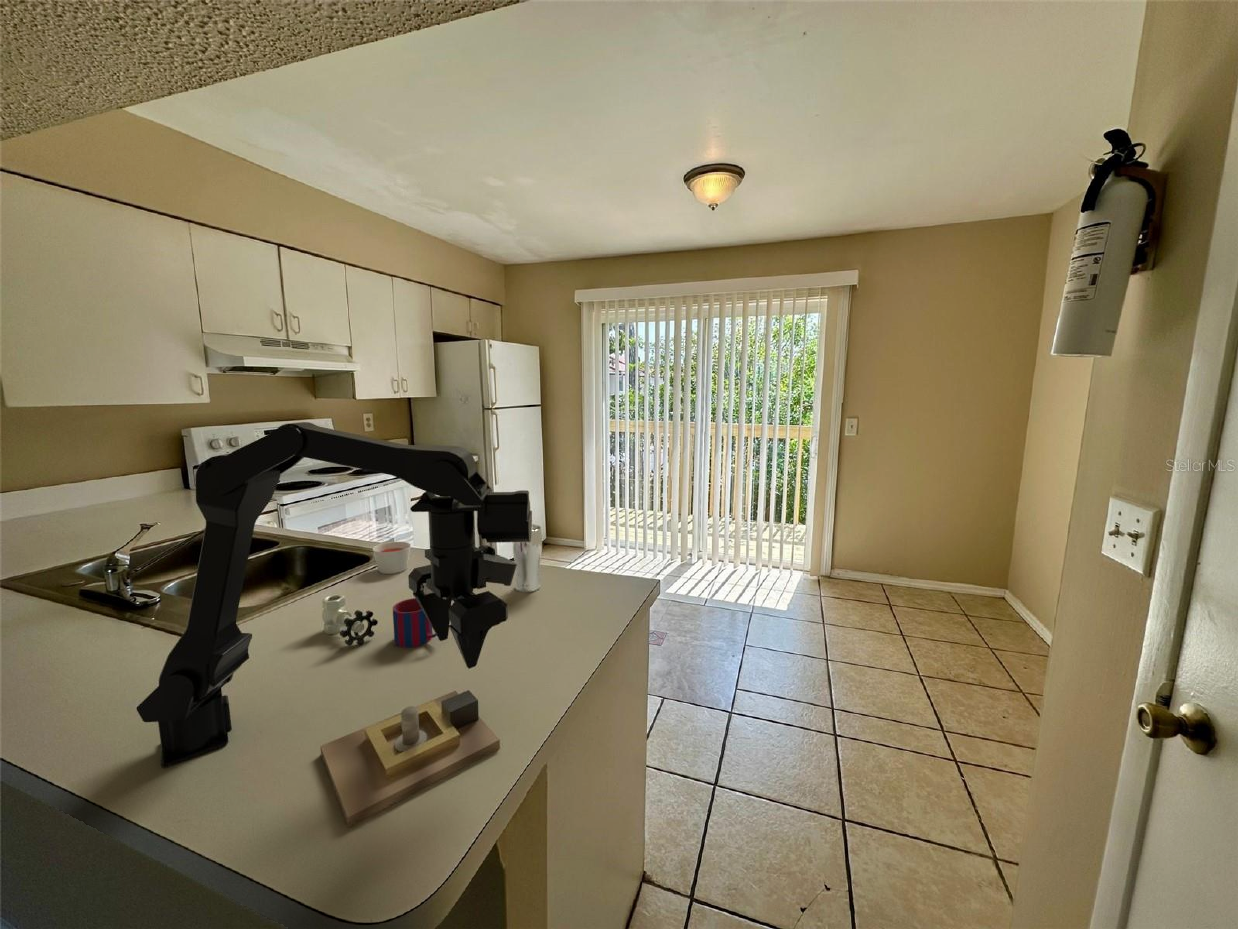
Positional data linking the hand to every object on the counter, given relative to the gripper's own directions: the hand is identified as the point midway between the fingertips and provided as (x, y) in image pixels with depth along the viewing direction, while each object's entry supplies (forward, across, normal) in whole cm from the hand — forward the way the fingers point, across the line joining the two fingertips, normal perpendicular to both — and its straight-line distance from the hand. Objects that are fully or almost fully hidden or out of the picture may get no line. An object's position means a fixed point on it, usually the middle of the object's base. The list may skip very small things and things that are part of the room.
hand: (457, 652), depth 65 cm
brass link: (+10, 0, +4) cm, 11 cm away
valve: (+12, +39, +6) cm, 41 cm away
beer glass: (+12, +37, -33) cm, 51 cm away
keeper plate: (+11, 0, +7) cm, 13 cm away
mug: (+12, +28, -4) cm, 31 cm away
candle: (+12, +70, -12) cm, 72 cm away
